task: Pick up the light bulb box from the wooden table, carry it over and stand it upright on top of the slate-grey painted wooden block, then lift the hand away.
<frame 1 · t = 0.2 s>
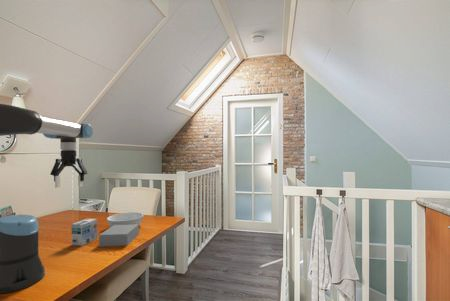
hand: (69, 187, 133), 27 cm above the table, tool pointing down, fingers open, 13 cm apart
grey block: (120, 240, 124), on the table
light bulb box: (85, 242, 123), on the table
serving bowl: (125, 227, 146), on the table
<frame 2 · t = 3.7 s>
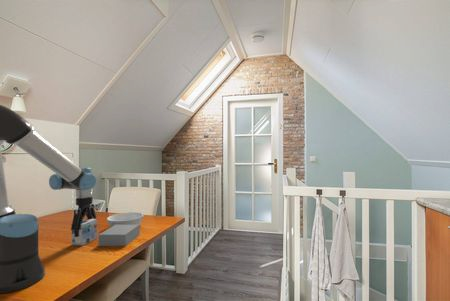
hand: (85, 238, 123), 2 cm above the table, tool pointing down, fingers closed on light bulb box, 11 cm apart
light bulb box: (85, 242, 123), on the table, touching gripper
everything else where it was.
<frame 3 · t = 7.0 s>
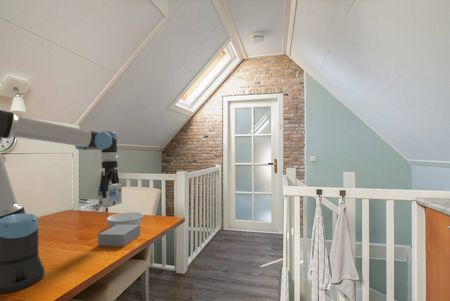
hand: (110, 201, 124), 20 cm above the table, tool pointing down, fingers closed on light bulb box, 11 cm apart
light bulb box: (110, 205, 124), point 18 cm above the table, touching gripper
everything else where it was.
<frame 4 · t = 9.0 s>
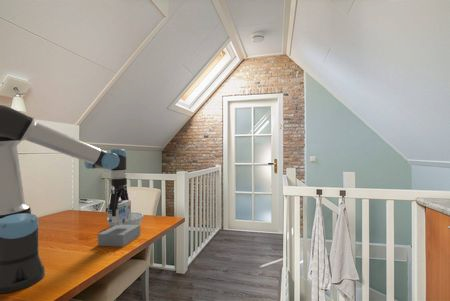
hand: (120, 219, 124), 11 cm above the table, tool pointing down, fingers closed on light bulb box, 11 cm apart
light bulb box: (120, 222, 124), point 9 cm above the table, touching gripper
everything else where it was.
when the fingers open (9 cm above the table, at t = 10.5 s): light bulb box drops 2 cm, point 5 cm above the table.
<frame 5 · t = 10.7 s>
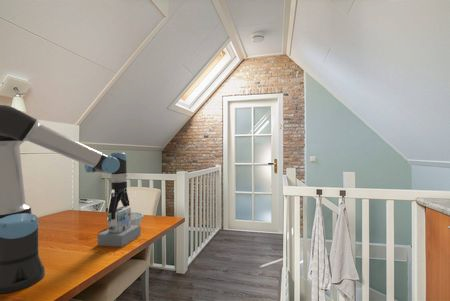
hand: (120, 221, 124), 10 cm above the table, tool pointing down, fingers open, 13 cm apart
light bulb box: (120, 229, 124), point 5 cm above the table
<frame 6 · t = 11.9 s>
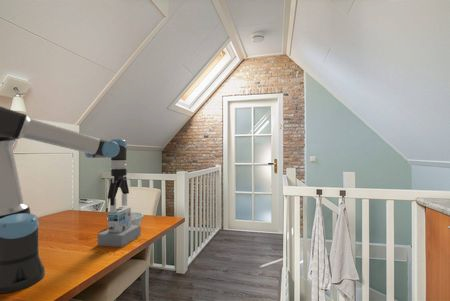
hand: (119, 208, 124), 17 cm above the table, tool pointing down, fingers open, 13 cm apart
grey block: (120, 240, 124), on the table, touching light bulb box
light bulb box: (120, 229, 124), point 5 cm above the table, touching grey block
everything else where it was.
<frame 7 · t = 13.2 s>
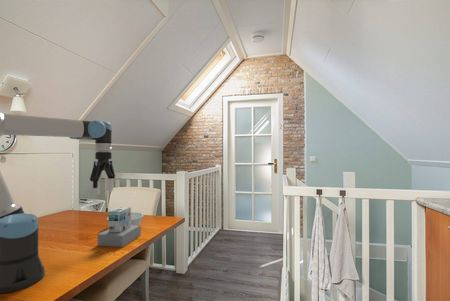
hand: (103, 192, 121), 26 cm above the table, tool pointing down, fingers open, 13 cm apart
nothing on the table moved.
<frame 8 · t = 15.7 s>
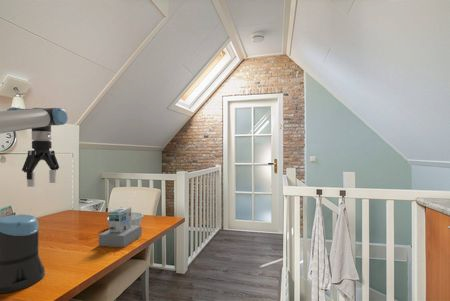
hand: (42, 184, 113), 32 cm above the table, tool pointing down, fingers open, 13 cm apart
grey block: (121, 241, 123), on the table
light bulb box: (120, 229, 124), point 5 cm above the table
everything else where it was.
at the end: light bulb box inside the target area on the grey block (0.6 cm from its centre), point 5.8 cm above the grey block's base; light bulb box tilted 0°; the gripper is holding nothing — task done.
